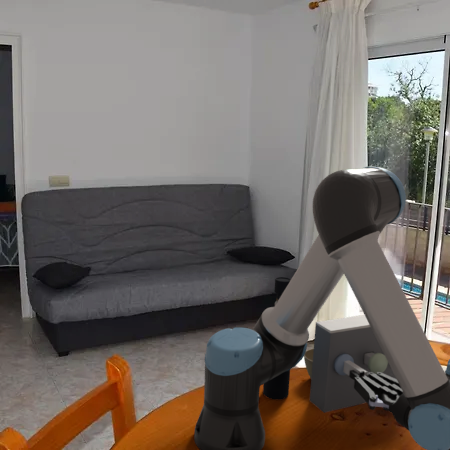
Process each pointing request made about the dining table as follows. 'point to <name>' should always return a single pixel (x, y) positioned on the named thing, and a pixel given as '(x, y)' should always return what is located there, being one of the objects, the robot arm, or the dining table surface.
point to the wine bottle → (280, 383)
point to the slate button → (341, 363)
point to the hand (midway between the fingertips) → (346, 366)
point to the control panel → (327, 353)
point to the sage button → (375, 362)
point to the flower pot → (309, 361)
